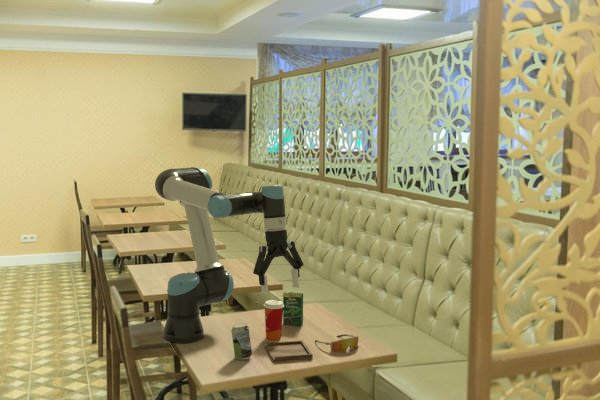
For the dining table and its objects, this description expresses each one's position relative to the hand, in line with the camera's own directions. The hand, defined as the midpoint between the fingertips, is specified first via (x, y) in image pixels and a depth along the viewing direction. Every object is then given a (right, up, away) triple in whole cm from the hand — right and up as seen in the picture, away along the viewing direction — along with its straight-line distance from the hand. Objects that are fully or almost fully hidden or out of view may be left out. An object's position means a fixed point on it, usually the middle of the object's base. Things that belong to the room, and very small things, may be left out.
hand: (280, 290), depth 226 cm
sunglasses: (+21, -23, +17) cm, 35 cm away
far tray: (+2, -23, +7) cm, 24 cm away
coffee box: (+4, -19, +38) cm, 43 cm away
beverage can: (-14, -24, +2) cm, 27 cm away
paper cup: (-3, -21, +22) cm, 30 cm away
